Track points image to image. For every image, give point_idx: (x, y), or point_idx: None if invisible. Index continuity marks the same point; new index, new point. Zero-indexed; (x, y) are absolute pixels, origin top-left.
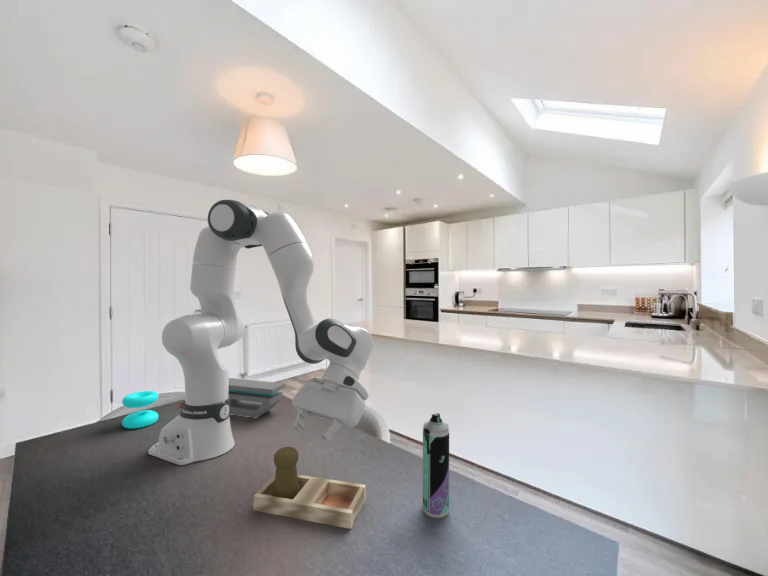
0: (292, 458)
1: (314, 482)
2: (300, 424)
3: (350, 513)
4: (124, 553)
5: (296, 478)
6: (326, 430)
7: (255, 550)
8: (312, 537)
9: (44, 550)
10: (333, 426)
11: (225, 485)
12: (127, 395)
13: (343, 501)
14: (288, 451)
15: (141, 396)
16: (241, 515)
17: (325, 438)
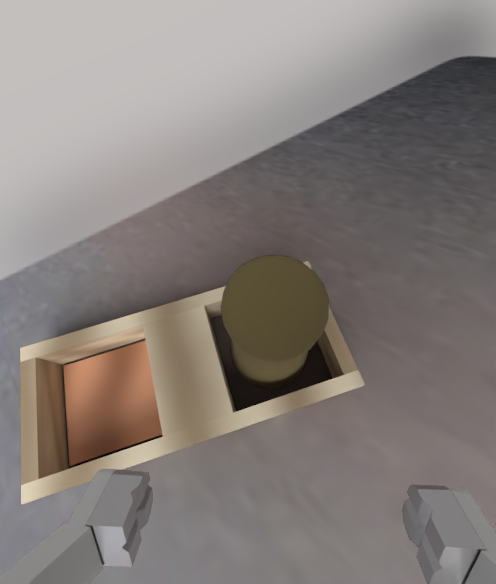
0: (223, 293)
1: (204, 405)
2: (429, 532)
3: (23, 348)
4: (377, 120)
5: (235, 345)
6: (99, 522)
7: (200, 217)
8: (121, 291)
9: (476, 75)
10: (6, 578)
11: (467, 299)
12: None
13: (111, 431)
14: (254, 289)
15: None
16: (310, 255)
17: (109, 470)
